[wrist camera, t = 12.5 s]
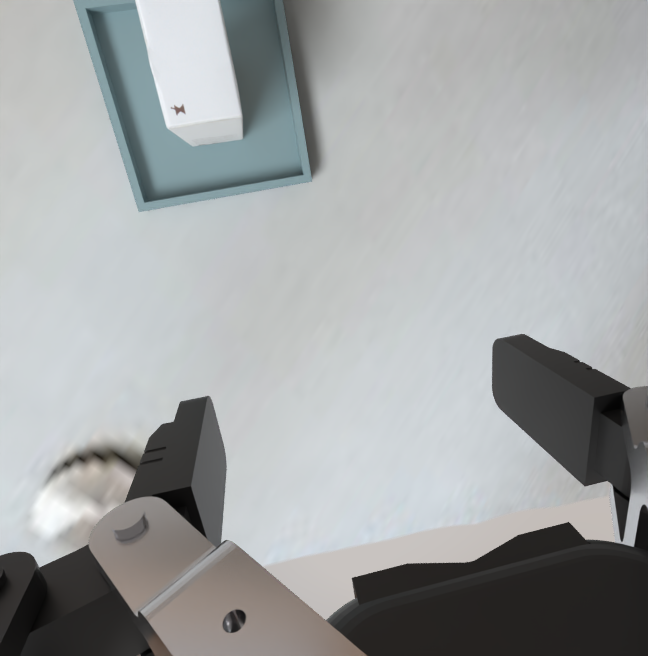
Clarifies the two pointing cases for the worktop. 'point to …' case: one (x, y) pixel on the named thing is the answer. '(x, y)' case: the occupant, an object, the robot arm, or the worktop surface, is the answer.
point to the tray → (169, 149)
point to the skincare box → (192, 69)
